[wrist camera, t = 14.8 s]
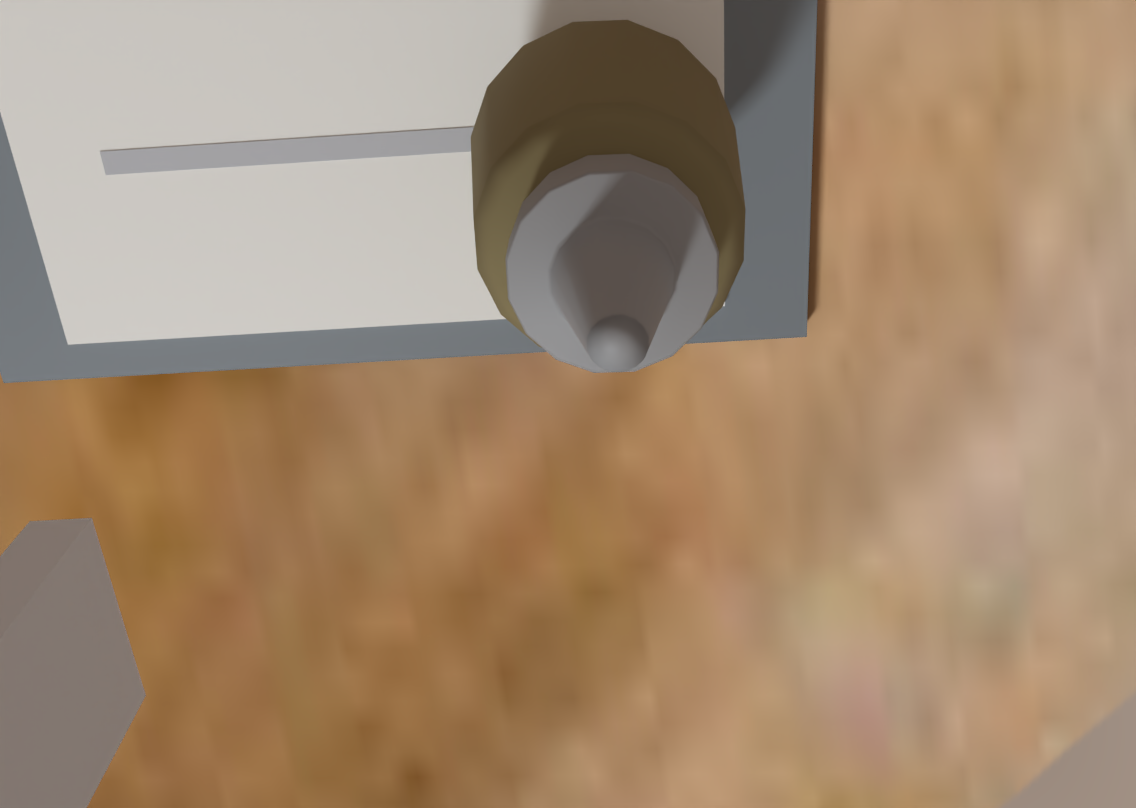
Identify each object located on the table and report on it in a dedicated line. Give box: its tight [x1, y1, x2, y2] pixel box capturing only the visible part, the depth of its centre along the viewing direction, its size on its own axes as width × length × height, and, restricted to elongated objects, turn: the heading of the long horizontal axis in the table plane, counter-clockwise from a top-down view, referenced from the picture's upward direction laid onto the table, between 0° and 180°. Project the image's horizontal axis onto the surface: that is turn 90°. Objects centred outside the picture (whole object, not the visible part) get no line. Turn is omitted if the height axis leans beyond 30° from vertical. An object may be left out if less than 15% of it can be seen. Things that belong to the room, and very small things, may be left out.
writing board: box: [0, 0, 817, 383], centre depth 37 cm, size 30×16×1 cm, turn 94°
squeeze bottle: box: [471, 20, 746, 373], centre depth 28 cm, size 8×8×18 cm
